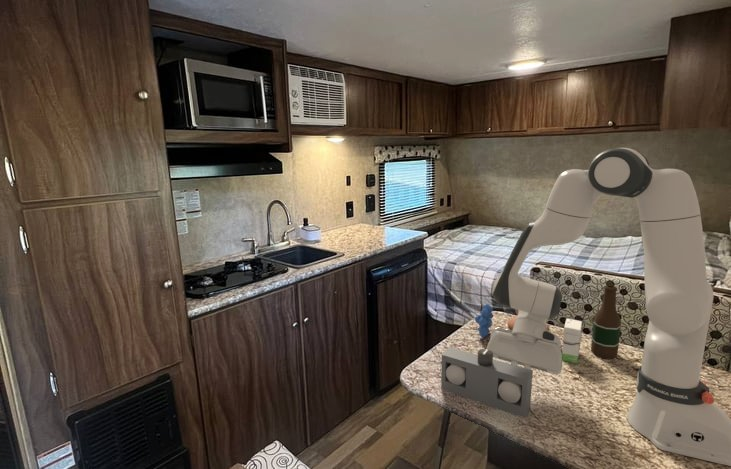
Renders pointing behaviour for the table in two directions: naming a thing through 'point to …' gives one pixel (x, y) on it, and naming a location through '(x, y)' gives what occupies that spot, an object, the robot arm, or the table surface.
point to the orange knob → (456, 374)
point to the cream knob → (510, 391)
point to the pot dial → (485, 357)
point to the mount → (487, 381)
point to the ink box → (571, 340)
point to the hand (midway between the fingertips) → (517, 379)
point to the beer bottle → (606, 326)
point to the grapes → (484, 320)
